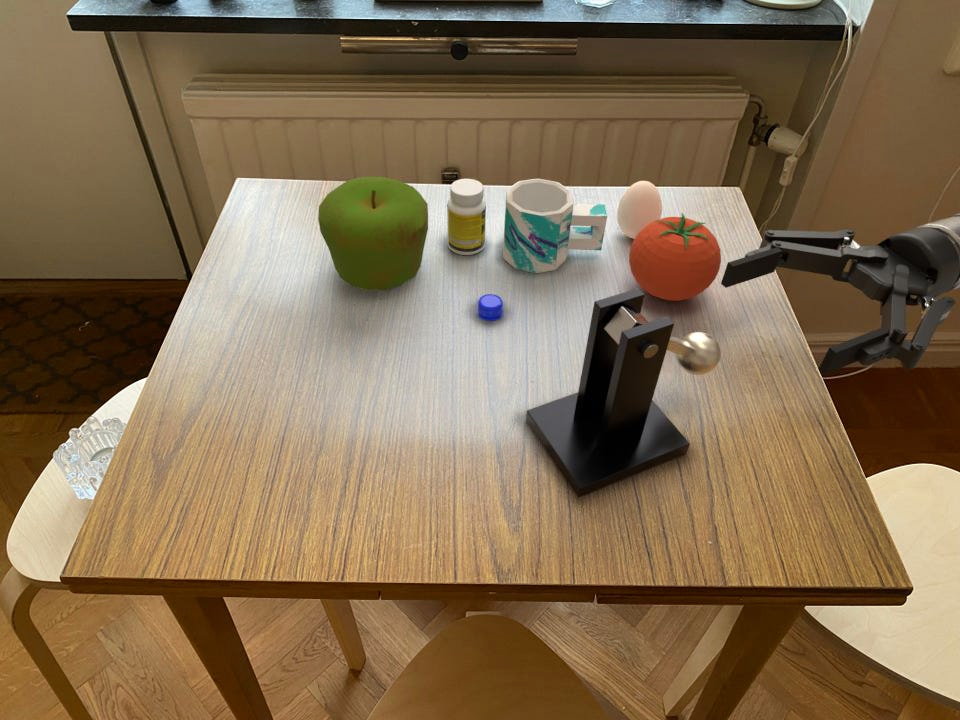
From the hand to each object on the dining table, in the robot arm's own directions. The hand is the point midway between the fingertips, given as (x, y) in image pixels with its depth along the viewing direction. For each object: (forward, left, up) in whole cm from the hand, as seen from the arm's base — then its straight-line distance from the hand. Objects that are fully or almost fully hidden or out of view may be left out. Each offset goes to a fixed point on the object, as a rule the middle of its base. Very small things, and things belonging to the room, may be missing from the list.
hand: (773, 315), depth 67 cm
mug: (+28, +7, -10) cm, 30 cm away
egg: (+27, -5, -10) cm, 29 cm away
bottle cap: (+21, +19, -10) cm, 30 cm away
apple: (+33, +28, -10) cm, 45 cm away
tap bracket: (0, +17, -9) cm, 20 cm away
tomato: (+16, -2, -10) cm, 19 cm away
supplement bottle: (+34, +16, -10) cm, 39 cm away
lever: (0, +14, 0) cm, 14 cm away
